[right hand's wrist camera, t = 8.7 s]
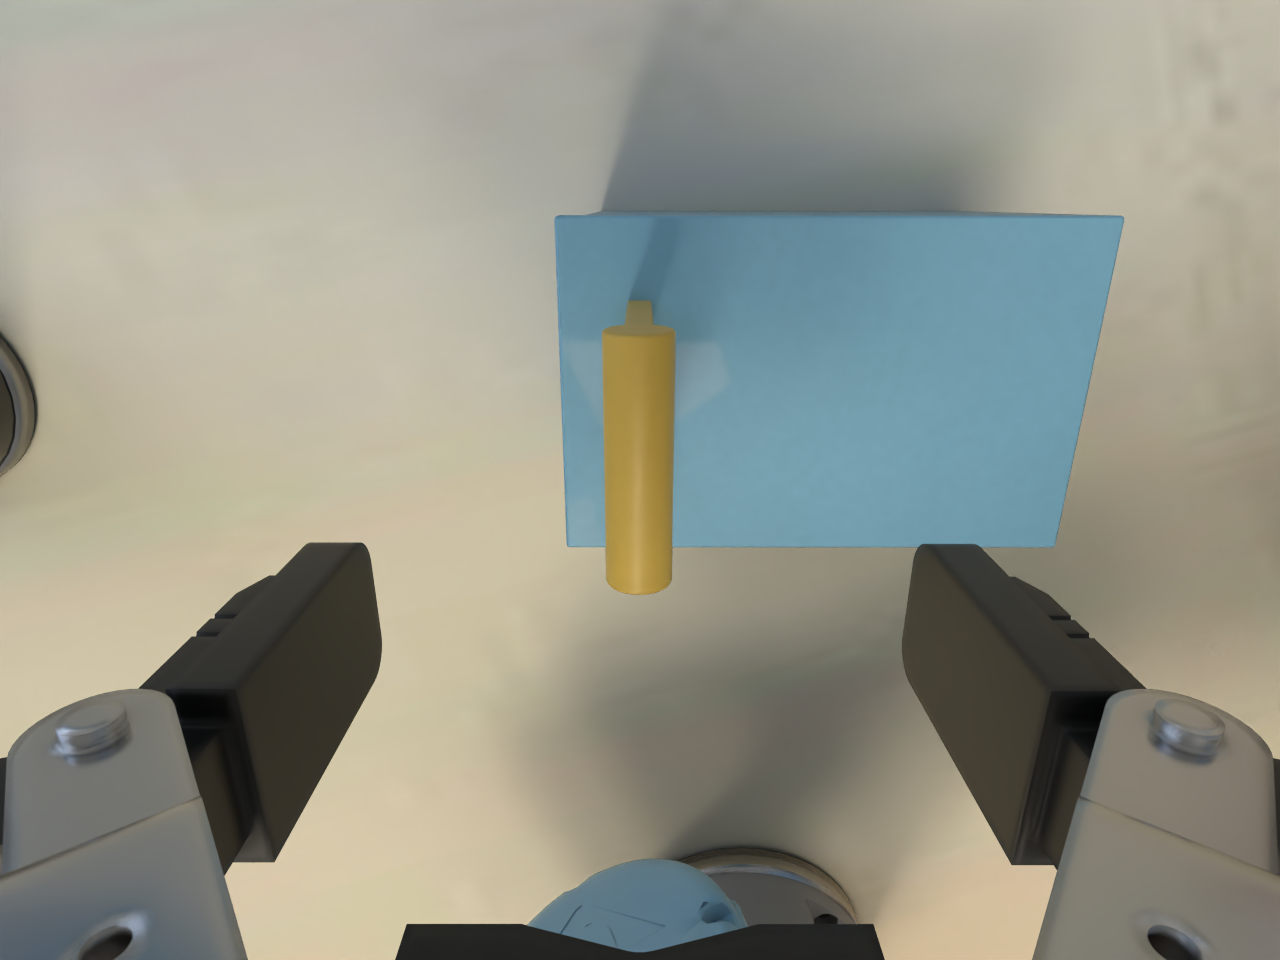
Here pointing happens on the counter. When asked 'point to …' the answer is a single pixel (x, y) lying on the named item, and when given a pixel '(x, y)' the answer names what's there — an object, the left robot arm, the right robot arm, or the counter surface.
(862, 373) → the lid
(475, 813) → the counter surface
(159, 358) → the counter surface
